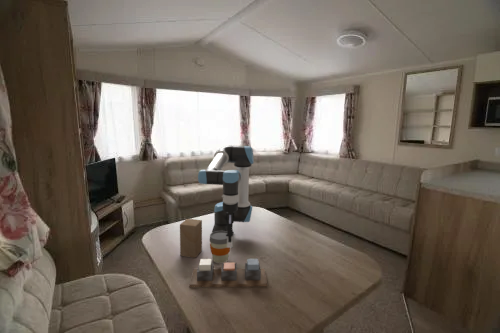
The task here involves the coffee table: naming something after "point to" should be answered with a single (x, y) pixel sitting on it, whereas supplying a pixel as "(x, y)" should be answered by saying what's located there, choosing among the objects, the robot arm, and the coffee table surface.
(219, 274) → the console
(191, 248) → the wooden block
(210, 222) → the coffee table surface
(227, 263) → the terracotta button
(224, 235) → the reusable coffee cup
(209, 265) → the cream button
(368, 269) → the coffee table surface
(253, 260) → the slate button
